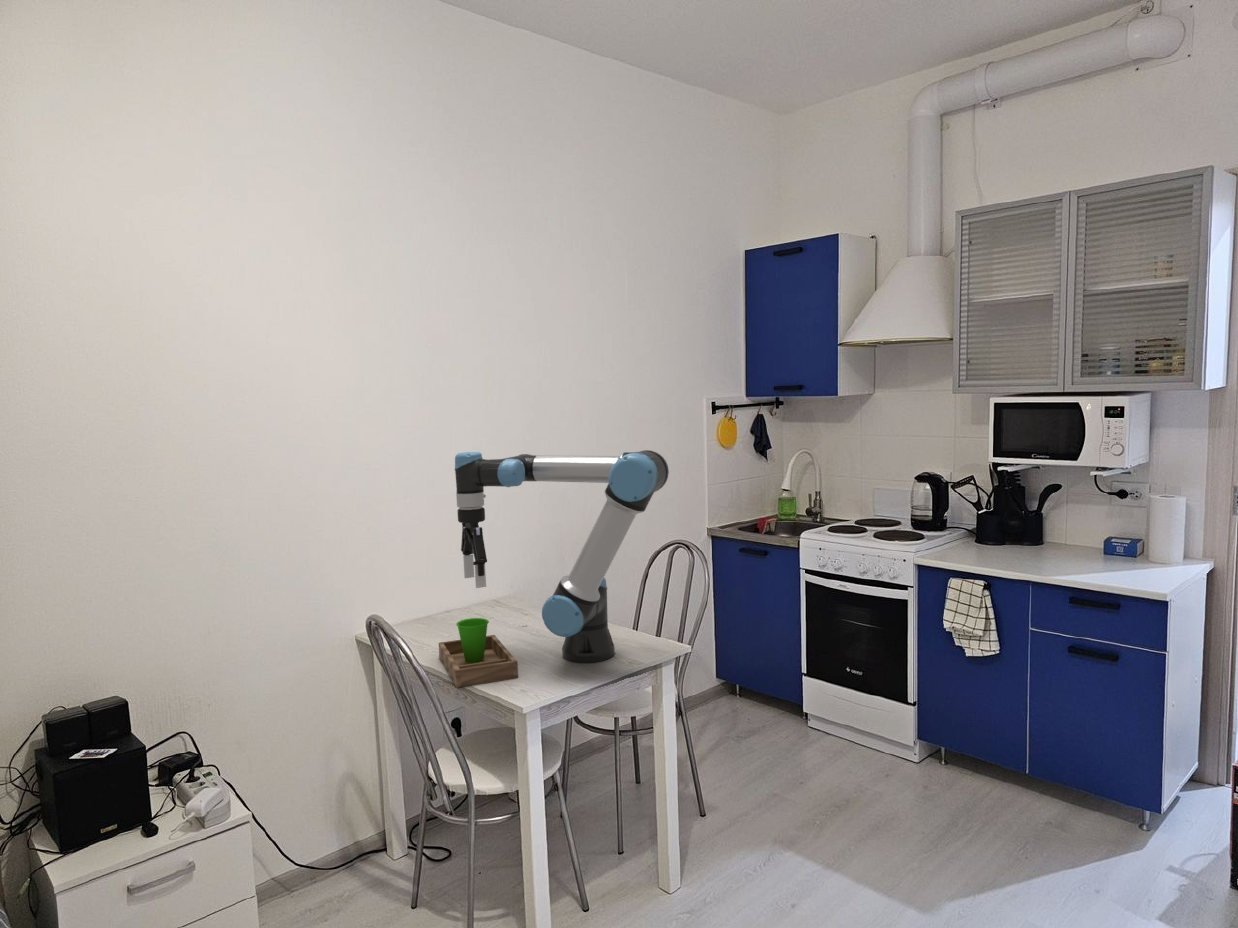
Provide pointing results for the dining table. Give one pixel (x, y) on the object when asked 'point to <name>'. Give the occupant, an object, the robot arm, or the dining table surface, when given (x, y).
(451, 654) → the crate
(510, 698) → the dining table surface
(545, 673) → the dining table surface
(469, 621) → the cup
